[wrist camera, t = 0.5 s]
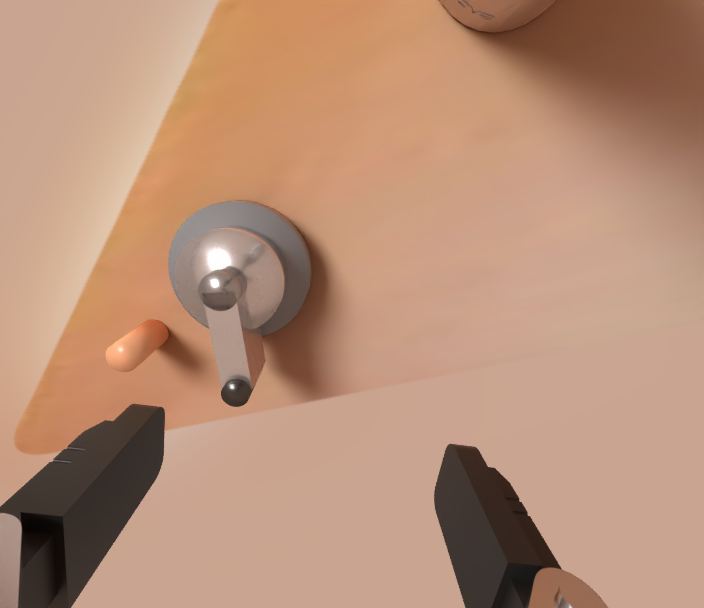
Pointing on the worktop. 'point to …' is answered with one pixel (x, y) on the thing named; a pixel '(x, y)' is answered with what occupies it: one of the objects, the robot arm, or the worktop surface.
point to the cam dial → (232, 299)
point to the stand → (238, 213)
